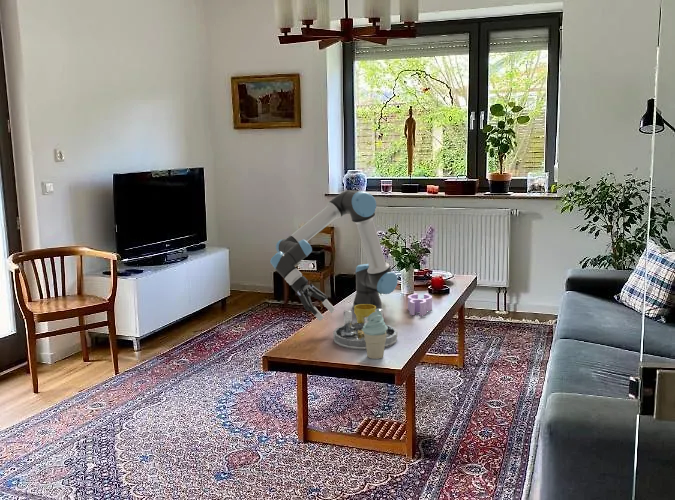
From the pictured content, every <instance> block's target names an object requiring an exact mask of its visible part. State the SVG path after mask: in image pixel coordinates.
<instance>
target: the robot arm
mask: <svg viewBox="0 0 675 500" xmlns="http://www.w3.org/2000/svg"><path fill="white" fill-rule="evenodd" d="M376 209H377V201H376V198H375V197H374V196H373V195H372V194H371V193H369V192H366V191H363V190H361V191H360V190H353V189H352V190H350V189H349V190H345V191H343V192H341V193H339V194H338V195H336V196H334V197H333V198H332V199H331V200H329V201H328V202H327V204H326V207H324V208H323V209H321V210H320V211H319V212H318V213H317V214H315V215H314V216H312V218H311V219H309V220H308V221H307V222H305V223H304V224H303V225H301V227H299V228H298V229H297V230H295V231H294V232H293V233H292V234H291V235H289V236H288V237H286V238H285V239H279V240H278V241H277V242H276V243H275V251H276V253H275V254H274V255H273V256H272V257H271V258H270V260H269V262H270V265H272V267H273V268H274V270H276V272H277V273H278V274H279V275H280V276H281V277H282V278H283V279H284V281H286V283H287V284H288V285H289V286H291V289H293V291H294V292H296V296H298V298H299V300H300V302H301V304H302V306H303V308H304V310H306V311H307V312H311V314H313V315H314V317H315V318H316V319H317V320H318V321H319V322H321V320H323V319H324V318H325V316H324V315H323V314H322V313H321V312H320V310H318V308H317V307H316V306H315V305H314V306H313V302H312V299H311V297H313V298H314V299H317V300H319V302H322V303H321V304H322V305H323V306H324V307H325V308H326V309H327V310H328V311H329V313H331V314H333V313H334V311H336V307H334V306H333V305H332V303H331V302H330V301H329V300H328V298H329V297H328V295H327V294H325V293H324V292H322V291H321V290H320V289H319V288H317V287H316V286H314V284H313V283H310V285H309V284H308V283H309V280H308V279H307V278H306V276H304V275H303V273H302V272H301V271H300V270H299V269H298V268H297V267H296V266H297V265H298V264H299V263H301V262H302V261H303V260H304V259H305V258H307V257H308V256H309V255H310V254H311V253H312V252H313V247H312V246H311V245H310V243H309V242H310V240H311V239H312V238H313V237H315V236H316V235H317V234H319V233H320V232H322V231H323V230H324V229H325V228H326V227H327V226H329V225H330V224H331V223H332V222H333V221H335V220H336V219H340V218H342V217H343V216H346V215H347V214H349V215H350V219H351V222H352V223H354V224H356V227H357V231H358V235H359V237H360V241H361V244H362V248H363V251H364V255H365V259H366V260H367V263H363V264H358V265H357V266H356V267H355V290H356V291H355V296H354V300H353V301H352V303H353V304H352V307H353V309H354V306H356V305H359V304H371V305H375V306H376V309H383V308H382V307H383V302H382V299H381V295H382V294H383V295H390V294H391V293H393V292H394V291H395V289H396V287H397V286H398V284H399V283H398V281H399V280H398V275H396V273H395V272H393V271H392V269H391V266H390V264H389V263H388V262H386V260H385V255H384V253H383V248H382V246H381V242H380V239H379V236H378V235H379V234H378V232H377V228H376V225H375V220H374V218H375V217H376V213H375V212H376ZM380 294H381V295H380Z"/></svg>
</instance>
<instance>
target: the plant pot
mask: <svg viewBox="0 0 675 500" xmlns="http://www.w3.org/2000/svg"><path fill="white" fill-rule="evenodd" d="M375 309H376V306H375V305H371V304H359V305H356V306H354V308H353V312H354V315H355V318H356V323H364V318H365V317H368V316H369V315H370V314H372V313H373V312H375Z"/></svg>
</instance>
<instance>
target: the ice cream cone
mask: <svg viewBox="0 0 675 500" xmlns="http://www.w3.org/2000/svg"><path fill="white" fill-rule="evenodd" d="M384 320H385V319H384V316H383V317H382V314H381V312H380V310H378V309H377V312H373V313H372V314H370V315H369V316H368V318H367V321H368V323H365V326H363V329H362V331H364V336H365V342H366V348H367V350H366V354H367V358H368V359H372V360H377V359H382V358H384V357H385V355H384V354H385V348H386V347H385V342H386V330H387V329H388V327H387V326H386V325H387V324H386V322H385V321H384Z"/></svg>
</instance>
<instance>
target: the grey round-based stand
mask: <svg viewBox="0 0 675 500" xmlns="http://www.w3.org/2000/svg"><path fill="white" fill-rule="evenodd" d="M352 323H353V311H352V310H351V309H346V310H344V311H343V325H344V330H342V331H341V335H342V334H346V337H354V336H356V331H355V330H352Z"/></svg>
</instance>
